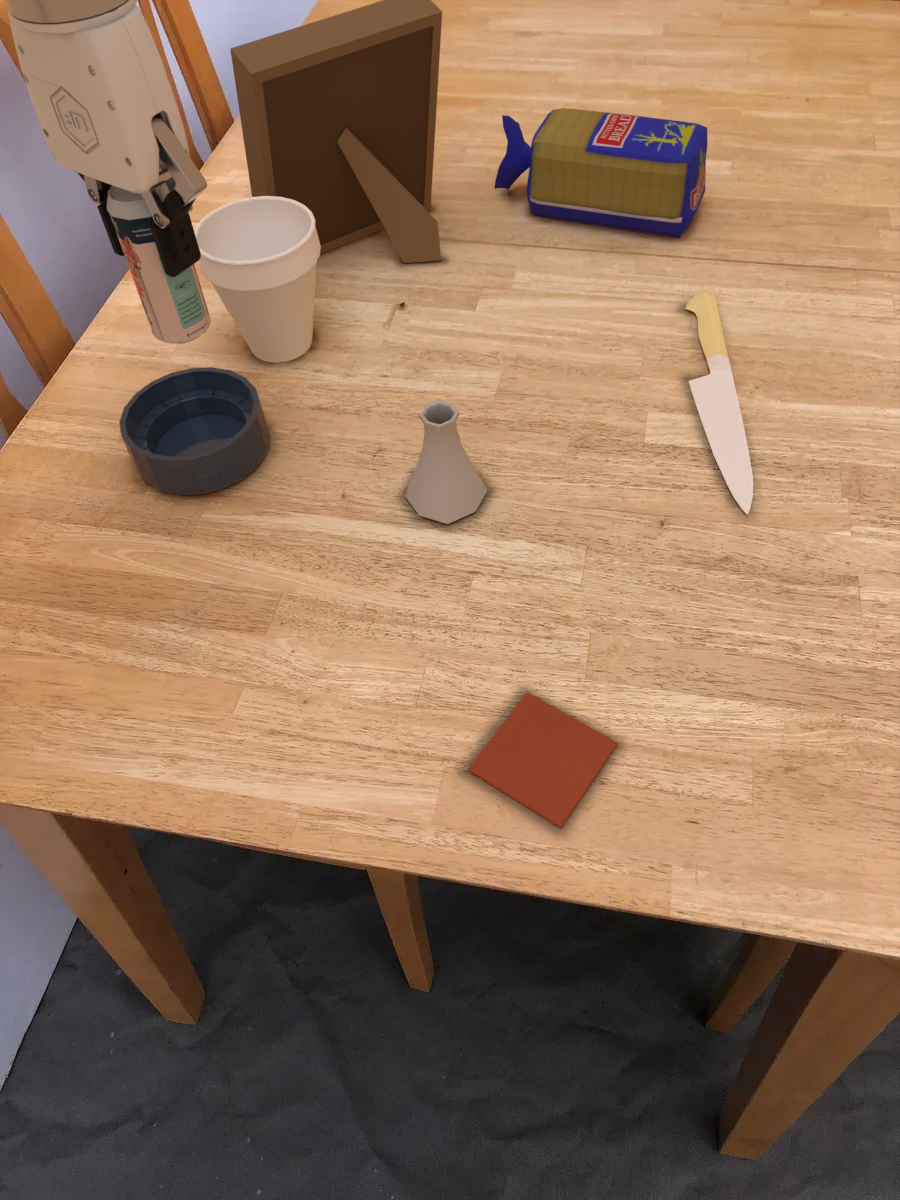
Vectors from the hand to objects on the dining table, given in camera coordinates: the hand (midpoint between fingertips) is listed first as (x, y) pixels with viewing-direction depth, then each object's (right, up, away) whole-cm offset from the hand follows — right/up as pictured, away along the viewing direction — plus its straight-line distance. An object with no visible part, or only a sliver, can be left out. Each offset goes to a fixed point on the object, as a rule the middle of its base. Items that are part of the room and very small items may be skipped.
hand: (157, 254), depth 70 cm
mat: (+29, -38, -1) cm, 48 cm away
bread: (+41, +22, +45) cm, 64 cm away
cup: (+4, +2, +32) cm, 32 cm away
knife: (+48, -6, +22) cm, 54 cm away
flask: (+22, -16, +16) cm, 32 cm away
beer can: (0, -4, +6) cm, 7 cm away
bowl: (-2, -11, +22) cm, 25 cm away
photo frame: (+12, +16, +42) cm, 46 cm away
